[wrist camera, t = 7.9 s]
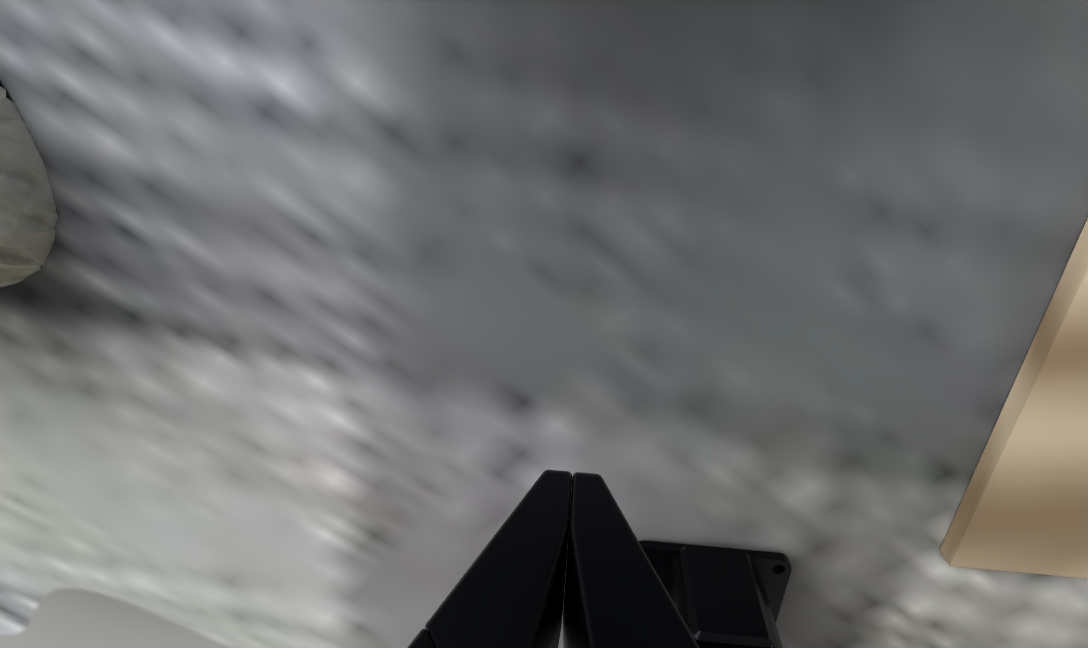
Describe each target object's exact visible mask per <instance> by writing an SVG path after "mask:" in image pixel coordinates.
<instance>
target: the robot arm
mask: <svg viewBox="0 0 1088 648" xmlns="http://www.w3.org/2000/svg"><path fill="white" fill-rule="evenodd" d="M571 487H572V491H571ZM570 502H571V505H570ZM569 517H570V519H569ZM568 532H569V534H568ZM567 546H568V548H567ZM645 553H646V554H645ZM566 560H567V563H566ZM776 565H779V566H776ZM790 573H791V565H790V562H789V559H788V558H787V556H786V555H784V554H781V553H774V552H763V551H752V550H741V549H730V548H719V547H708V546H697V545H687V544H676V543H665V542H654V541H638V540H637V538H636V536H635V534H634V533H633V531H632V529H631V527H630V526H629V524H628V522H627V520H626V519H625V517H624V515H623V513H622V512H621V510H620V508H619V506H618V505H617V503H616V501H615V499H614V498H613V496H612V494H611V492H610V491H609V489H608V487H607V485H606V484H605V482H604V480H603V479H602V477H601V476H600V475H598V474H592V473H580V472H576V473H574V475H573V477H572V474H571V473H570V472H568V471H556V470H546V471H544V472H543V473H542V475H541V476H540V477H539V478H538V480H537V481H536V482H535V484H534V485H533V486H532V488H531V489H530V490H529V491H528V493H527V494H526V495H525V497H524V498H523V499H522V500H521V502H520V503H519V504H518V506H517V507H516V508H515V510H514V511H513V512H512V513H511V515H510V516H509V517H508V519H507V520H506V521H505V523H504V524H503V525H502V526H501V528H500V529H499V530H498V532H497V533H496V534H495V535H494V537H493V538H492V539H491V541H490V542H489V543H488V545H487V546H486V547H485V548H484V550H483V551H482V552H481V554H480V555H479V556H478V557H477V559H476V560H475V561H474V563H473V564H472V565H471V567H470V568H469V569H468V570H467V572H466V573H465V574H464V576H463V577H462V578H461V579H460V581H459V582H458V583H457V585H456V586H455V587H454V589H453V590H452V591H451V592H450V594H449V595H448V596H447V598H446V599H445V600H444V601H443V603H442V604H441V605H440V607H439V608H438V609H437V611H436V612H435V613H434V614H433V616H432V617H431V618H430V620H429V621H428V622H427V623H426V625H425V629H422V630H421V631H420V632H419V633H418V635H417V636H416V637H415V639H414V640H413V641H412V643H411V644H410V645H409V646H408V648H558V643H559V637H560V631H561V624H562V614H563V647H564V648H782V644H781V641H780V637H779V634H778V630H777V627H776V624H775V623H776V619H777V616H778V613H779V609H780V606H781V603H782V600H783V596H784V593H785V590H786V586H787V583H788V580H789V576H790ZM565 574H566V578H565ZM564 588H565V593H564ZM563 602H564V608H563Z"/></svg>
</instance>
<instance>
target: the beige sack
mask: <svg viewBox="0 0 1088 648" xmlns="http://www.w3.org/2000/svg"><path fill="white" fill-rule="evenodd" d="M58 217H59V215H58V214H57V212H56V206H55V202H54V198H53V194H52V190H51V186H50V182H49V178H48V175H47V171H46V168H45V165H44V162H43V160H42V158H41V156H40V154H39V152H38V150H37V148H36V146H35V144H34V141H33V139H32V137H31V135H30V133H29V131H28V128H27V126H26V124H25V122H24V120H22V118H21V115H20V113H19V111H18V109H17V106H16V104H15V103H13V102H12V101H10V100H9V99H8V98H6V89H4V88H2V87H1V86H0V287H4V286H8V285H12V284H17V283H19V282H21V281H22V280H24V279H25V278H27V277H28V276H30V275H31V274H33V273H35V272H37V271H40V270H41V269H40V267H42V266H45V263H46V259H47V256H48V255H49V253H50V250H51V247H52V245H53V243H54V240H55V233H56V230H55V228H54V226H55V224H56V222H57V219H58Z"/></svg>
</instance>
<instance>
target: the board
mask: <svg viewBox="0 0 1088 648" xmlns="http://www.w3.org/2000/svg"><path fill="white" fill-rule="evenodd" d="M940 551H941V553H942V555H943V556H944V558H945V559H946V561H947V562H948V564H949V565H950V566H958V567H969V568H980V569H991V570H1002V571H1013V572H1024V573H1035V574H1046V575H1057V576H1068V577H1079V578H1088V219H1087V221H1086V223H1085V225H1084V228H1083V230H1082V232H1081V234H1080V236H1079V239H1078V241H1077V243H1076V245H1075V248H1074V250H1073V252H1072V254H1071V257H1070V259H1069V261H1068V263H1067V266H1066V268H1065V270H1064V272H1063V275H1062V277H1061V279H1060V281H1059V284H1058V286H1057V288H1056V290H1055V292H1054V295H1053V297H1052V299H1051V301H1050V304H1049V306H1048V308H1047V310H1046V313H1045V315H1044V317H1043V319H1042V322H1041V324H1040V326H1039V328H1038V331H1037V333H1036V335H1035V337H1034V339H1033V342H1032V344H1031V346H1030V348H1029V351H1028V353H1027V355H1026V357H1025V360H1024V362H1023V364H1022V366H1021V369H1020V371H1019V373H1018V375H1017V378H1016V380H1015V382H1014V384H1013V387H1012V389H1011V391H1010V393H1009V395H1008V398H1007V400H1006V402H1005V404H1004V407H1003V409H1002V411H1001V413H1000V416H999V418H998V420H997V422H996V425H995V427H994V429H993V431H992V434H991V436H990V438H989V440H988V443H987V445H986V447H985V449H984V451H983V454H982V456H981V458H980V460H979V463H978V465H977V467H976V469H975V472H974V474H973V476H972V478H971V481H970V483H969V485H968V487H967V490H966V492H965V494H964V496H963V498H962V501H961V503H960V505H959V507H958V510H957V512H956V514H955V516H954V519H953V521H952V523H951V525H950V528H949V530H948V532H947V534H946V537H945V539H944V541H943V543H942V546H941V548H940Z"/></svg>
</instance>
